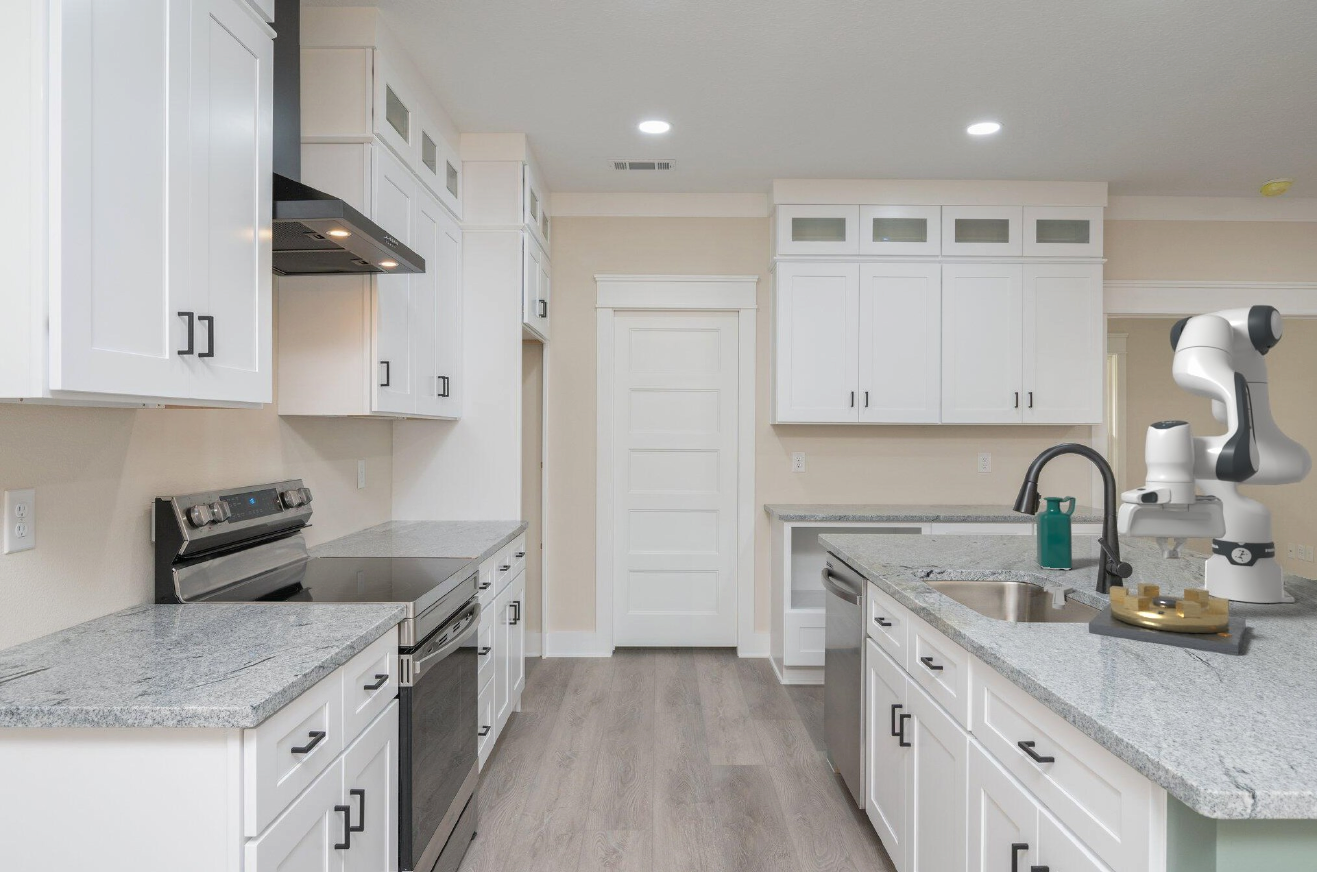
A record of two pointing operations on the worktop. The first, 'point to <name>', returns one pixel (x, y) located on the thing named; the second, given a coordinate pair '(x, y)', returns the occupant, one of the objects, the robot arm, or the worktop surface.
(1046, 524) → the pitcher
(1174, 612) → the ring nut
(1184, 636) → the base plate
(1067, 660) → the worktop surface
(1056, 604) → the adjustable wrench
